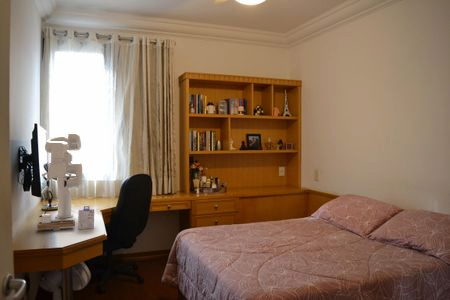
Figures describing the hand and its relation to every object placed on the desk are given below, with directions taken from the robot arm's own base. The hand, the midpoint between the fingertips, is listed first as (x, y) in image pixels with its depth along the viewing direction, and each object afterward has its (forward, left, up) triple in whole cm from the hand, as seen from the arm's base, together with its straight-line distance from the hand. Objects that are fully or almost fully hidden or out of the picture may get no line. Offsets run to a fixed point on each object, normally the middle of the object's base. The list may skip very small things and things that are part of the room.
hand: (56, 187), depth 220 cm
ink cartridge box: (0, +19, -29) cm, 34 cm away
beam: (-2, +1, -28) cm, 28 cm away
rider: (-2, -5, -24) cm, 25 cm away
